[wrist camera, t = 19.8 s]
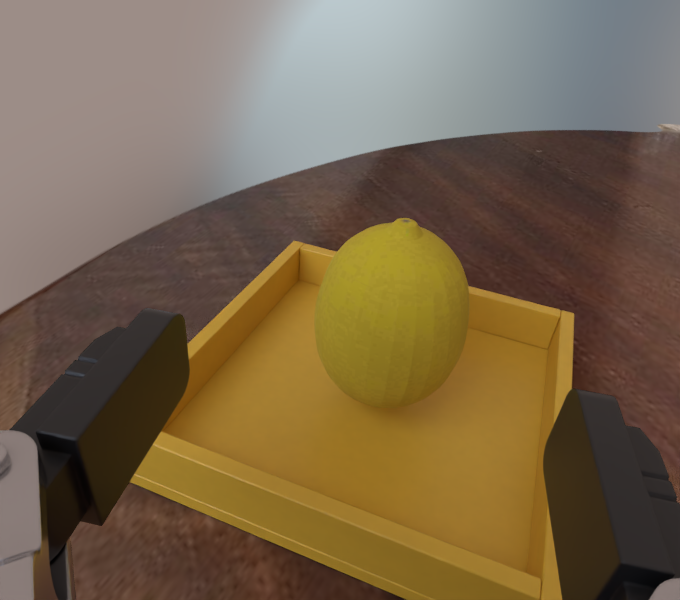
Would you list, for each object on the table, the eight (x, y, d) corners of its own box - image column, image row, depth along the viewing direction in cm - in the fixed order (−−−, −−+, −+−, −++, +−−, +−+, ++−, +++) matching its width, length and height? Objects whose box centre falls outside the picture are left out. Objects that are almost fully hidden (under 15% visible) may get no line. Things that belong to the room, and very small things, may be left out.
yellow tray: (115, 477, 18) (103, 424, 17) (292, 281, 30) (294, 240, 28) (535, 655, 15) (565, 609, 13) (557, 356, 26) (574, 313, 25)
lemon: (436, 359, 24) (475, 194, 20) (454, 458, 20) (510, 271, 15) (314, 349, 24) (325, 180, 20) (303, 447, 19) (314, 255, 15)
